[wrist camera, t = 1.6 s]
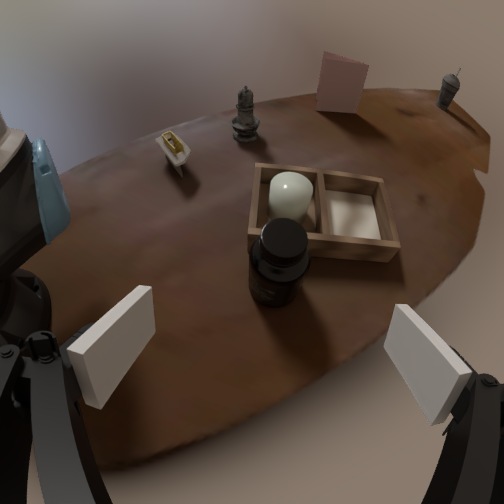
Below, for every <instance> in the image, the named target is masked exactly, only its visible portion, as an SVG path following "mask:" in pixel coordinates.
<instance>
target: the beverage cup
mask: <svg viewBox="0 0 504 504" xmlns="http://www.w3.org/2000/svg"><path fill="white" fill-rule="evenodd" d="M460 69H461V68H459V70H458V72H457V74H456V76H455V75H453V74H447V75H446V76H444V78H443V81H442V87H441V90H440V93H439V97H438V100H437V104H436V105H437V106H438V107H439V108H441V109H443V110H446V109H447V108H448V106H449V105H450V103H451V101H452V99H453V98H454V96H455V94H456V93H457V91H458V90H459V87H460V82H459V80H458V78H457V75H458V73H459V71H460Z"/></svg>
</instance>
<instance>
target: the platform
mask: <svg viewBox="0 0 504 504" xmlns="http://www.w3.org/2000/svg"><path fill="white" fill-rule="evenodd" d="M168 132H170V133H171V134H169V133H167V132H166V133H164V134H162V136H160V137H158V138H156V139H155V140H156V143H157V144H158V145H159V146H160V148H161V149H162V150H163V151H164V153H165V155H166V158H167V159H168V160H169V162H170V163H171V164H172V165H173V167H174V168H175V169H176V170H177V172H178V173H179V174H180V176H181V177H182V178H183V173H182V169H181V165H182V164H184V163H185V161H186V160H187V158H188V157H189V155H190V154H191V149H190V148H189V147H188V146H187V145H186V144H185V143H184V142H183V141H182V140H181V139H180V138H179V137H178V136H177V135H176V134H173V133H172V132H171V131H168ZM163 135H164V136H163ZM170 140H173V143H174V147H173V146H172V145H171V144H170V143H169V141H170ZM174 149H175V150H174Z"/></svg>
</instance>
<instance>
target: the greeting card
mask: <svg viewBox="0 0 504 504" xmlns="http://www.w3.org/2000/svg"><path fill="white" fill-rule="evenodd" d="M368 67H369V65H366V64H364V63H361V62H358V61H355V60H352V59H349V58H346V57H343V56H339V55H336V54H332V53H329V52H324V54H323V60H322V66H321V72H320V78H319V84H318V89H317V95H316V100H318V101H317V107H316V111H330V112H344V113H355V114H356V111H357V108H358V104H359V101H360V97H361V94H362V90H363V86H364V82H365V79H366V75H367V71H368Z"/></svg>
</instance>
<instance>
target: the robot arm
mask: <svg viewBox="0 0 504 504" xmlns="http://www.w3.org/2000/svg"><path fill="white" fill-rule="evenodd" d="M69 223H70V209H69V206H68V202H67V199H66V196H65V193H64V190H63V187H62V185H61V182H60V179H59V176H58V174H57V170H56V168H55V165H54V162H53V159H52V157H51V154H50V151H49V149H48V147H47V145H46V143H45V140H44V139H42V138H40V139H38V140H37V139H35V140H34V141H33V143H31V142H30V141H29V139H28V137H27V135H26V133H25V132H24V130H20V129H12V128H9V127H8V126H7V125H6V123H5V121H4V119H3V117H2V114H1V112H0V504H27V480H28V469H29V460H30V452H31V445H32V439H33V442H34V451H35V458H36V464H37V470H38V475H39V481H40V485H41V490H42V494H43V498H44V502H45V504H113V503H112V501H111V499H110V497H109V494H108V492H107V490H106V487H105V485H104V482H103V480H102V477H101V475H100V472H99V469H98V467H97V464H96V461H95V458H94V455H93V452H92V449H91V446H90V443H89V440H88V436H87V433H86V429H85V425H84V422H83V418H82V414H81V409H80V405H79V403H78V400H77V399H78V398H79V397H80V395H81V394H82V396H83V399H84V401H85V403H86V404H87V405H89V406H92V407H95V408H97V409H100V410H101V409H102V408H103V406H104V405H105V403H106V402H107V400H108V399H109V397H110V396H111V394H112V393H113V391H114V390H115V389H116V387H117V386H118V384H119V383H120V381H121V380H122V378H123V377H124V376H125V374H126V373H127V371H128V370H129V368H130V367H131V366H132V364H133V363H134V361H135V360H136V358H137V357H138V356H139V354H140V353H141V351H142V350H143V349H144V347H145V346H146V344H147V343H148V342H149V340H150V339H151V337H152V336H153V335H154V333H155V321H154V310H153V297H152V287H149V286H141V285H139V286H138V287H137V288H135V289H134V290H133V291H132V292H131V293H129V294H128V295H127V296H126V297H125V298H123V299H122V300H121V301H120V302H119V303H118V304H116V305H115V306H114V307H113V308H112V309H111V310H110V311H108V312H107V313H106V314H105V315H104V316H103V317H102V318H100V319H99V320H98V321H97V322H96V323H95V322H92V323H89V324H87V325H85V326H83V327H82V328H81V329H80V330H79V331H77V333H75V334H74V335H73V336H72V337H71V338H69V339H68V340H67V341H66V342H65V343H64V344H63V345H61V346H60V347H58V344H57V340H56V337H55V334H53V333H52V332H50V331H47V329H48V325H49V321H50V313H51V303H50V296H49V292H48V290H47V287H46V285H45V284H44V282H43V281H42V280H41V279H39V278H38V277H37V276H36V275H35V274H33V273H32V272H30V271H27V270H23V269H20V268H19V267H20V266H21V265H22V264H24V263H25V262H26V261H27V260H28V259H29V258H31V257H32V256H33V255H34V254H35V253H37V252H38V251H39V250H40V249H42V248H43V247H44V246H45V245H50V244H51V241H52V240H53V239H54V238H56V237H57V236H58V235H59V234H60V233H62V232H63V231H64V230H65V229H66V228H67V227H68V225H69ZM384 348H385V350H386V352H387V353H388V355H389V356H390V358H391V360H392V361H393V363H394V364H395V366H396V368H397V369H398V371H399V372H400V374H401V376H402V377H403V379H404V381H405V382H406V384H407V386H408V387H409V389H410V391H411V392H412V394H413V396H414V397H415V399H416V401H417V402H418V404H419V406H420V408H421V410H422V411H423V413H424V415H425V417H426V418H427V420H428V422H429V424H430V425H431V426H432V425H436V424H440V423H443V422H444V421H445V420H446V418H447V417H448V415H449V413H450V412H451V414H452V415H453V419H452V421H451V422H450V424H449V425H448V426H447V428H446V429H445V431H444V432H443V434H442V435H443V436H444V435H445V433H446V432H447V436H446V440H445V443H444V446H443V449H442V453H441V455H440V458H439V461H438V464H437V467H436V470H435V472H434V475H433V478H432V480H431V482H430V485H429V487H428V490H427V492H426V494H425V497H424V499H423V501H422V503H421V504H504V384H499V382H498V380H497V379H496V378H494V377H493V376H491V375H489V374H479V375H478V374H477V372H476V371H475V370H474V369H473V368H472V367H471V366H470V365H469V364H468V363H467V362H466V361H464V358H463V357H462V356H460V354H459V353H458V352H457V351H456V350H455V349H454V348H452V347H451V346H449V345H447V344H446V343H445V342H444V341H443V340H442V339H441V338H440V337H439V336H438V335H437V334H436V333H435V331H434V330H432V329H431V327H430V326H429V325H427V324H426V322H425V321H424V320H423V319H422V318H420V317H419V316H418V315H417V314H416V313H415V312H414V311H413V310H412V309H411V308H410V307H409V306H408V305H407V304H396V305H395V309H394V312H393V316H392V320H391V323H390V327H389V330H388V334H387V337H386V340H385V344H384ZM28 356H30V357H31V358H30V357H28ZM11 395H12V397H11Z"/></svg>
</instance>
